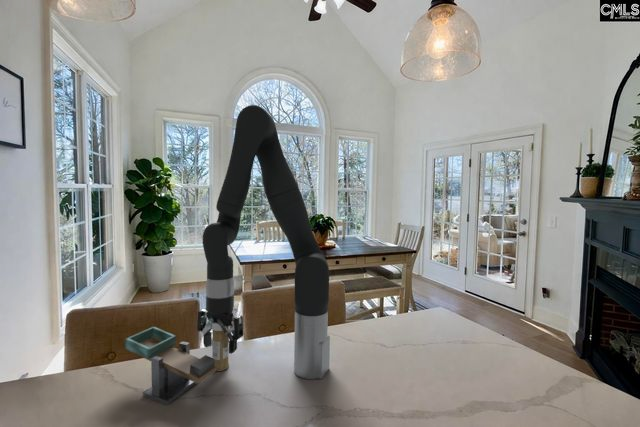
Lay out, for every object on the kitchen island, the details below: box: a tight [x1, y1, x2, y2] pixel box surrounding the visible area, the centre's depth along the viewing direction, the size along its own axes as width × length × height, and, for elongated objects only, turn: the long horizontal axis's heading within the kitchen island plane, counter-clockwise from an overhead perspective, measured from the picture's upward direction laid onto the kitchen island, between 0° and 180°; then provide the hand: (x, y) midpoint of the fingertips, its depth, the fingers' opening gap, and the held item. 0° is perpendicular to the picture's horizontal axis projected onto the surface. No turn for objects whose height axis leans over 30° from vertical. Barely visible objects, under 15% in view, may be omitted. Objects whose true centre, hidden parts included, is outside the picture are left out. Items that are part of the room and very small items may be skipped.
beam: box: [124, 326, 217, 385], centre depth 80 cm, size 23×8×4 cm, turn 68°
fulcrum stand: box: [142, 341, 197, 406], centre depth 80 cm, size 8×10×10 cm
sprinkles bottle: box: [211, 322, 230, 372], centre depth 91 cm, size 5×5×13 cm
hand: (219, 349), depth 91 cm, fingers open, 8 cm apart
